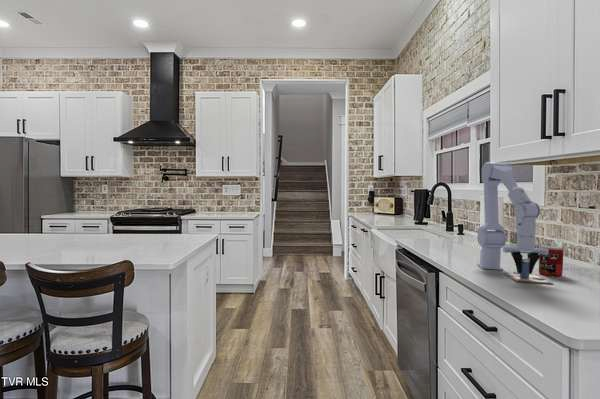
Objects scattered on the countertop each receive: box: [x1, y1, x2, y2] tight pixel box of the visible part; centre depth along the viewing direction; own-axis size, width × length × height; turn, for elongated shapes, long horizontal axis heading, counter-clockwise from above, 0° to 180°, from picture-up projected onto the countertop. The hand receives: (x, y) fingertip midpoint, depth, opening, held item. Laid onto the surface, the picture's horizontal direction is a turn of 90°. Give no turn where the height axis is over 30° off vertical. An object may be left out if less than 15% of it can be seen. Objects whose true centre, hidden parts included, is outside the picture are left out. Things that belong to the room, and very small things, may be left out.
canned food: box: [538, 244, 564, 278], centre depth 154 cm, size 8×8×11 cm
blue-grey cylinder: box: [520, 257, 530, 279], centre depth 143 cm, size 3×3×7 cm
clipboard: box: [503, 271, 554, 285], centre depth 146 cm, size 14×12×1 cm
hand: (524, 273), depth 143 cm, fingers closed on blue-grey cylinder, 3 cm apart
